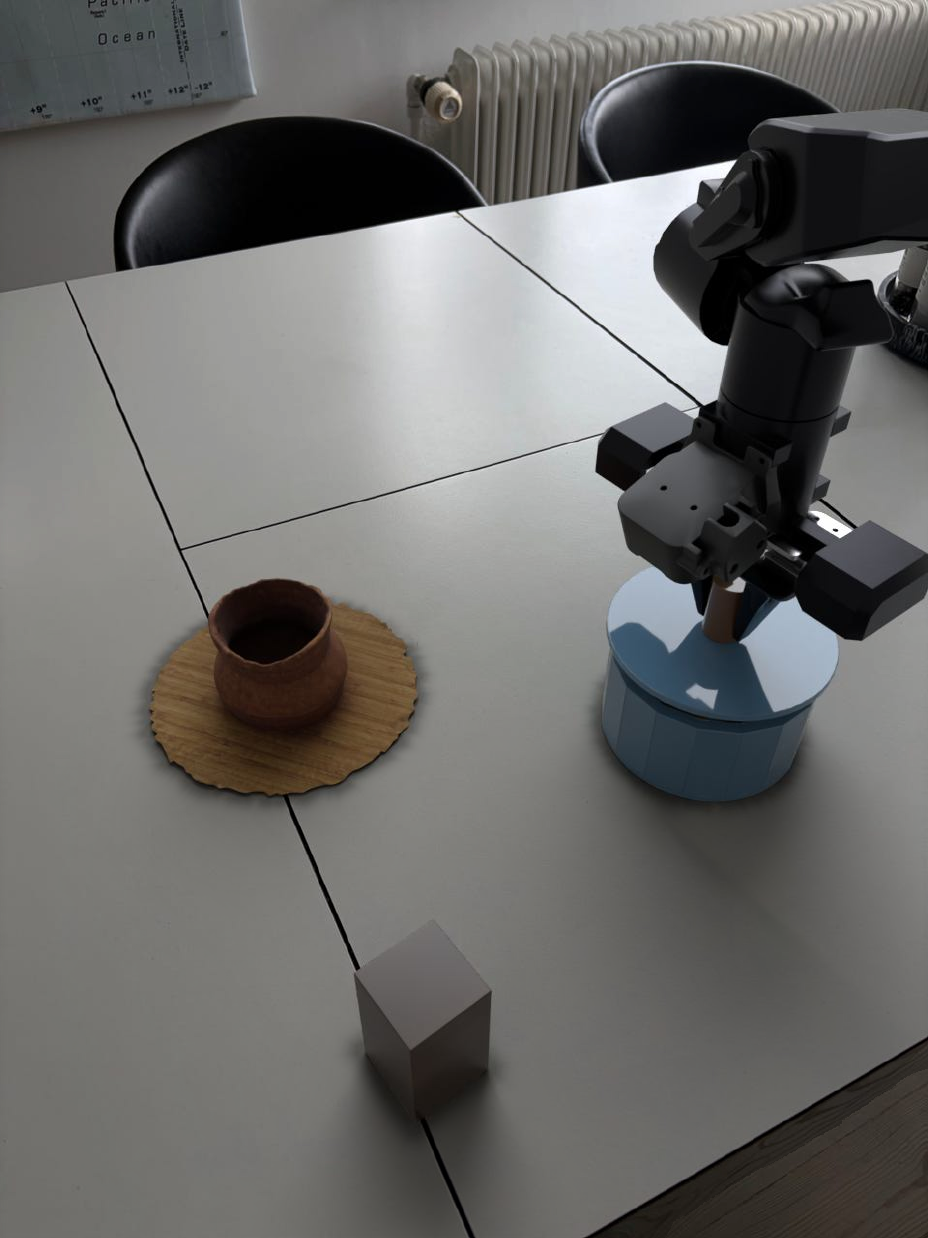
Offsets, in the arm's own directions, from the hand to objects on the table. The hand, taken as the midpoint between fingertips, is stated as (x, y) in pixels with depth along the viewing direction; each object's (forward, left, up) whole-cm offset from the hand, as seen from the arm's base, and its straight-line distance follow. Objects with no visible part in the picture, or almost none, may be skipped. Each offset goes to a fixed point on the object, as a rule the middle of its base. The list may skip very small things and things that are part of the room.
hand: (722, 624), depth 60 cm
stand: (-7, +27, -9) cm, 29 cm away
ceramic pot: (+19, +20, -9) cm, 29 cm away
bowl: (0, 0, -9) cm, 9 cm away
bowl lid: (0, 0, -1) cm, 1 cm away
